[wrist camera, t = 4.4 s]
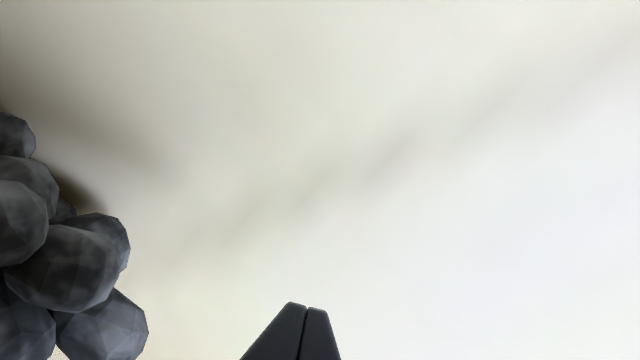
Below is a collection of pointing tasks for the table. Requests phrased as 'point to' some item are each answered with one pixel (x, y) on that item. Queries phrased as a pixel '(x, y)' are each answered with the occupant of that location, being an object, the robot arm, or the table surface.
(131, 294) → the table surface
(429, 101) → the table surface
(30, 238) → the fruit
